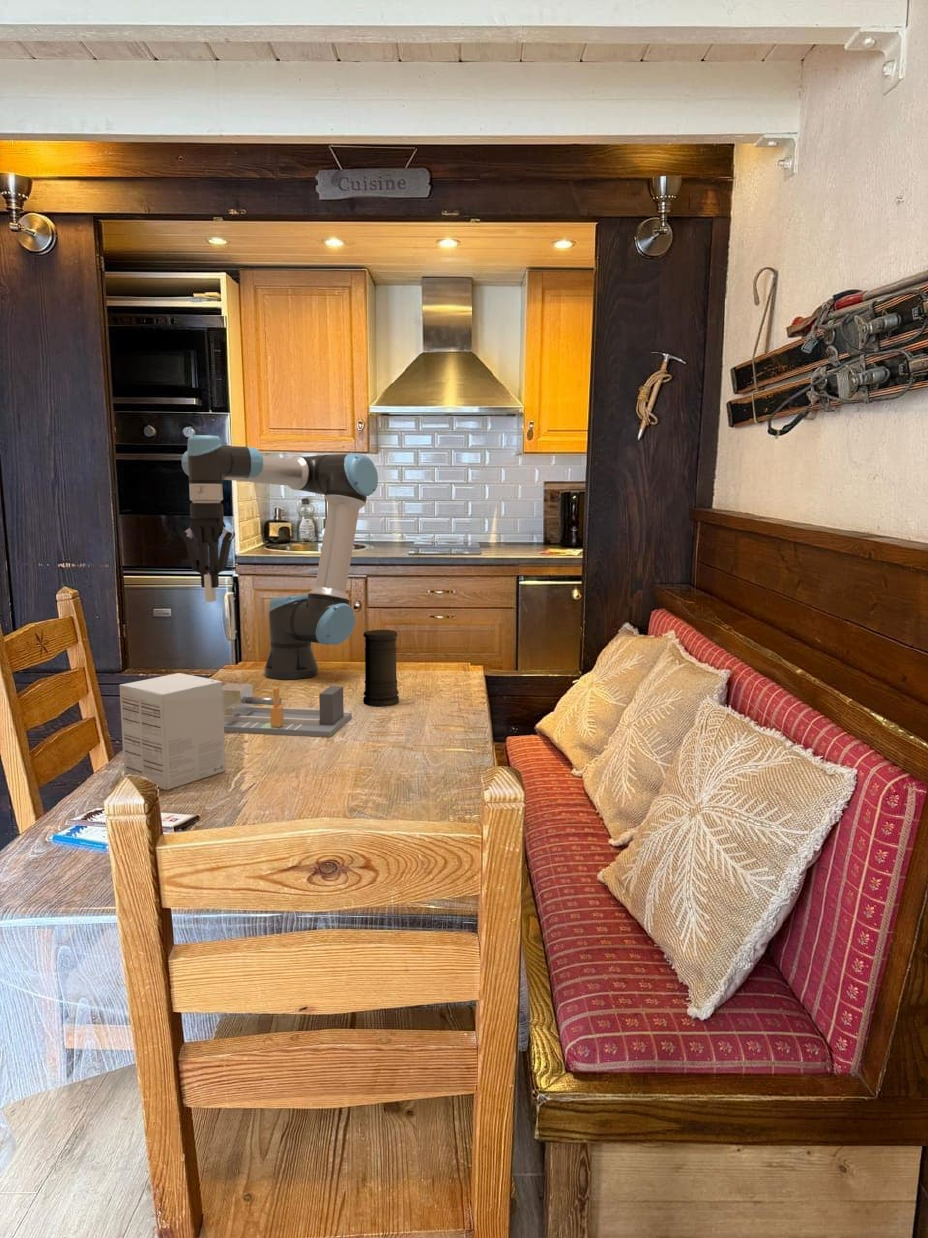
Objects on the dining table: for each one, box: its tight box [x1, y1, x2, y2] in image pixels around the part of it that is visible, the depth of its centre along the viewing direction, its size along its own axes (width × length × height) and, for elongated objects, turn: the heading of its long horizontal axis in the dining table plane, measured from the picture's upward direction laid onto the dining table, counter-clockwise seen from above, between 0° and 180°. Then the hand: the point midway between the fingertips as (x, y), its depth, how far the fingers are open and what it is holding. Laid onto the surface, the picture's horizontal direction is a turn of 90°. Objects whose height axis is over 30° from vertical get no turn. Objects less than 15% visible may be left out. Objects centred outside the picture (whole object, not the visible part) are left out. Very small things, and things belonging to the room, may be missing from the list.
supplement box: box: [118, 672, 227, 791], centre depth 154 cm, size 13×13×18 cm
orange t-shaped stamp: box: [270, 686, 284, 727], centre depth 183 cm, size 2×2×8 cm
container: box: [362, 629, 400, 707], centre depth 209 cm, size 9×9×18 cm
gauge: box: [222, 682, 282, 716], centre depth 189 cm, size 12×14×6 cm
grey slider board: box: [223, 685, 353, 738], centre depth 189 cm, size 16×32×8 cm, turn 81°
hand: (210, 601), depth 201 cm, fingers closed
